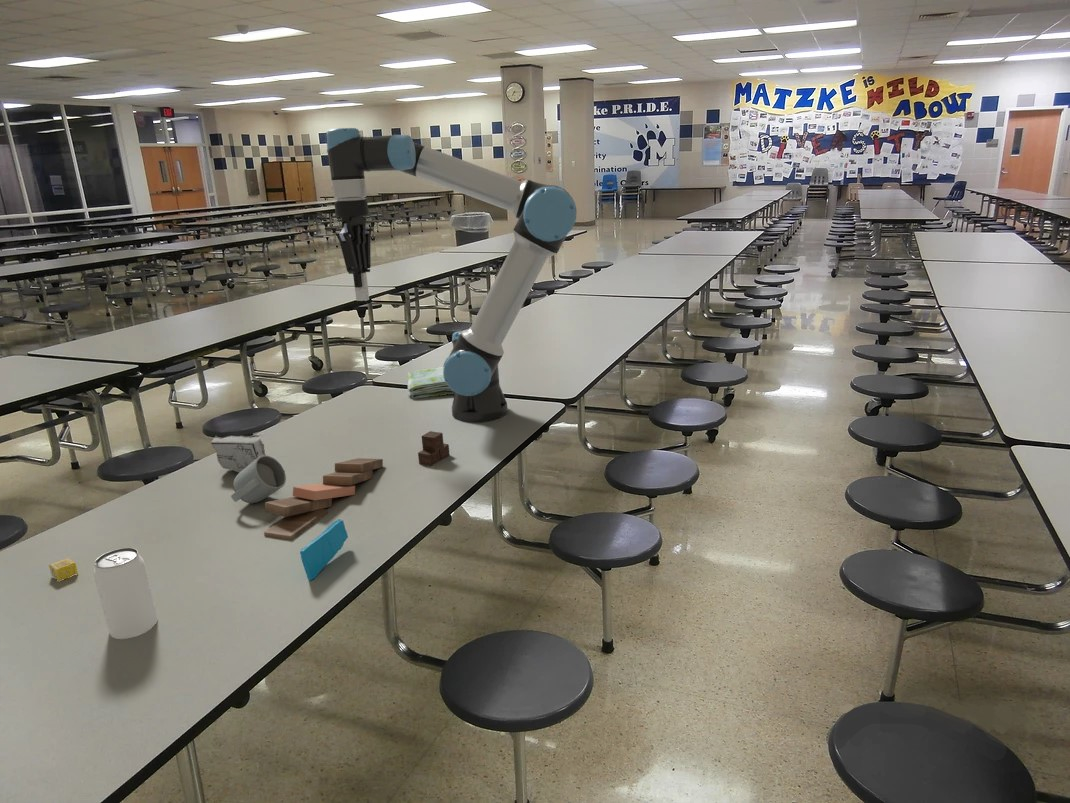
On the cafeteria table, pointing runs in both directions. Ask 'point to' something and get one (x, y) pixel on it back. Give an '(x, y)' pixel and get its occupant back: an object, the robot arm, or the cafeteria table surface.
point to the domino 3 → (323, 491)
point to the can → (125, 593)
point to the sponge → (323, 548)
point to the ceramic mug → (259, 480)
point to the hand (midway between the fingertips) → (362, 300)
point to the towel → (427, 383)
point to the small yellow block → (63, 569)
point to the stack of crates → (433, 448)
